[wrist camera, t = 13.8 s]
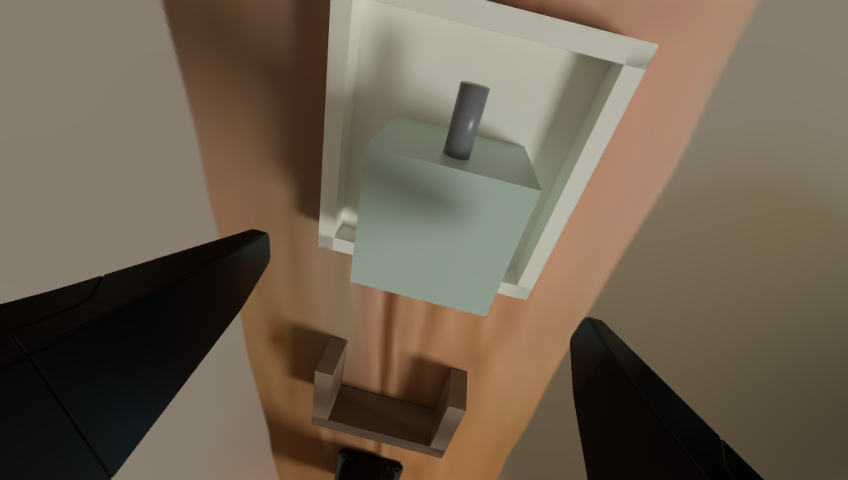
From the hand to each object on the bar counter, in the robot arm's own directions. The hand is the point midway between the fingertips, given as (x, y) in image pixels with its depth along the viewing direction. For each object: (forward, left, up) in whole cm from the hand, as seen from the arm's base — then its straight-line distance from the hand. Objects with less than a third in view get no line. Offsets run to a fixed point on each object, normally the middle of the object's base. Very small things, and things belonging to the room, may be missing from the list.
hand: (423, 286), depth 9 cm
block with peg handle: (0, 0, -8) cm, 9 cm away
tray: (+1, 0, -9) cm, 9 cm away
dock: (-18, 0, -9) cm, 20 cm away
